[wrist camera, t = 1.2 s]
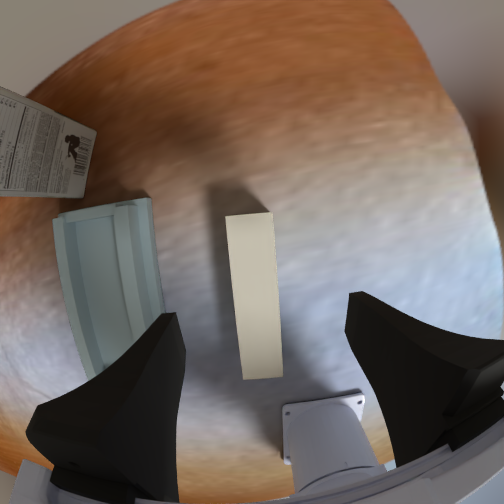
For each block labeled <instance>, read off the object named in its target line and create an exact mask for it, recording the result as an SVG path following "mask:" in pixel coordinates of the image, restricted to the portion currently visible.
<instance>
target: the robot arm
mask: <svg viewBox="0 0 504 504" xmlns="http://www.w3.org/2000/svg"><path fill="white" fill-rule="evenodd" d="M345 334H346V337H347V339H348V342H349V345H350V347H351V350H352V352H353V354H354V355H355V357H356V359H357V361H358V363H359V365H360V366H361V368H362V370H363V372H364V374H365V375H366V377H367V379H368V381H369V383H370V384H371V386H372V388H373V390H374V392H375V395H376V397H377V400H378V402H379V405H380V408H381V410H382V413H383V416H384V419H385V423H386V426H387V429H388V432H389V436H390V440H391V444H392V448H393V453H394V457H395V463H396V468H395V469H393V470H390V471H388V472H387V470H386V468H385V466H384V464H381V465H380V464H379V462H378V460H377V458H376V456H375V453H374V451H373V449H372V447H371V445H370V443H369V440H368V438H367V436H366V434H365V432H364V430H363V428H362V425H361V419H362V413H363V408H364V402H365V395H364V394H363V393H357V394H352V395H346V396H341V397H335V398H329V399H323V400H316V401H309V402H301V403H293V404H286V405H284V406H283V407H282V419H283V450H284V464H287V465H290V464H291V465H292V473H293V480H294V488H295V494H292V495H290V496H289V497H290V498H287V499H280V500H272V501H264V502H253V503H239V504H458V503H460V502H461V501H463V500H464V499H466V498H467V497H469V496H470V495H471V494H473V493H474V492H476V491H477V490H478V489H480V488H481V487H482V486H484V485H485V484H486V483H487V482H488V481H490V480H491V479H492V478H494V476H496V475H497V474H498V473H499V472H501V471H502V470H503V469H504V400H503V398H502V397H501V396H502V395H503V394H504V391H503V390H502V388H501V387H500V386H501V385H502V383H503V382H504V340H495V339H482V338H476V337H470V336H465V335H460V334H457V333H453V332H449V331H446V330H443V329H440V328H437V327H434V326H432V325H429V324H426V323H424V322H422V321H419V320H417V319H415V318H413V317H411V316H409V315H407V314H405V313H403V312H401V311H399V310H397V309H395V308H393V307H391V306H390V305H388V304H386V303H384V302H382V301H381V300H379V299H377V298H375V297H373V296H371V295H369V294H367V293H365V292H363V291H360V292H354V293H349V301H348V309H347V317H346V324H345ZM185 358H186V349H185V345H184V342H183V338H182V334H181V331H180V327H179V323H178V319H177V315H176V312H174V313H161V314H160V315H159V317H158V318H157V319H156V320H155V321H154V322H153V323H152V324H151V325H150V327H149V328H148V329H147V330H146V331H145V332H144V333H143V334H142V335H141V337H140V338H139V339H138V340H137V341H136V342H135V343H134V344H133V345H132V346H131V347H130V348H129V349H128V350H127V351H126V352H125V353H124V354H123V355H122V356H121V357H119V358H118V359H117V360H116V361H115V362H114V363H113V364H111V365H110V366H109V367H108V368H106V369H105V370H104V371H102V372H101V373H100V374H98V375H97V376H95V377H94V378H92V379H91V380H89V381H88V382H86V383H85V384H83V385H81V386H80V387H78V388H76V389H74V390H72V391H70V392H68V393H66V394H64V395H62V396H60V397H58V398H55V399H53V400H50V401H48V402H45V403H43V404H40V405H38V406H37V408H36V410H35V412H34V414H33V416H32V418H31V420H30V423H29V425H28V427H27V429H26V431H25V432H26V436H27V438H28V440H29V441H30V443H31V444H32V445H33V446H34V447H35V448H36V449H37V450H38V451H39V452H40V453H41V454H42V455H43V456H44V457H46V458H47V459H48V460H49V461H50V462H51V463H52V464H54V468H53V471H51V470H49V469H47V468H46V467H43V466H41V465H38V464H36V463H34V462H31V461H29V460H27V459H23V461H22V464H21V467H20V470H19V472H18V475H17V478H16V481H15V484H14V488H13V491H12V494H11V498H10V501H9V504H186V503H179V494H178V484H177V468H176V424H177V414H178V408H179V402H180V396H181V390H182V385H183V379H184V373H185ZM360 400H361V401H360ZM358 401H360V402H358ZM286 412H290V413H286Z"/></svg>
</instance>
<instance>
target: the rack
mask: <svg viewBox="0 0 504 504" xmlns="http://www.w3.org/2000/svg"><path fill="white" fill-rule="evenodd" d="M52 220H53V232H54V241H55V249H56V256H57V263H58V269H59V275H60V281H61V286H62V291H63V296H64V300H65V305H66V309H67V313H68V317H69V321H70V325H71V329H72V332H73V336H74V339H75V343H76V346H77V349H78V352H79V355H80V359H81V362H82V364H83V367H84V370H85V373H86V376H87V378H88V381H89V380H91V379H92V378H94V377H95V376H97V375H98V374H100V373H101V372H102V371H104V370H105V369H106V368H108V367H109V366H110V365H111V364H113V363H114V362H115V361H116V360H117V359H118V358H119V357H121V356H122V355H123V354H124V353H125V352H126V351H127V350H128V349H129V348H130V347H131V346H132V345H133V344H134V343H135V342H136V341H137V340H138V339H139V338H140V337H141V335H142V334H143V333H144V332H145V331H146V330H147V329H148V328H149V327H150V325H151V324H152V323H153V322H154V321H155V320H156V319H157V318H158V317H159V315H160V314H161V313H166V312H165V307H164V301H163V295H162V288H161V282H160V275H159V268H158V260H157V252H156V244H155V234H154V225H153V214H152V201H151V198H141V199H135V200H128V201H122V202H116V203H111V204H105V205H100V206H94V207H89V208H84V209H79V210H74V211H69V212H64V213H60V214H58V218H55V219H52Z"/></svg>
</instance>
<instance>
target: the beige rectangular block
mask: <svg viewBox="0 0 504 504" xmlns="http://www.w3.org/2000/svg"><path fill="white" fill-rule="evenodd" d="M225 218H226V229H227V240H228V250H229V260H230V270H231V279H232V289H233V298H234V307H235V316H236V325H237V334H238V342H239V350H240V359H241V367H242V375H243V380H250V379H264V378H276V377H283V363H282V343H281V326H280V309H279V294H278V279H277V265H276V251H275V238H274V226H273V214H272V212H266V213H254V214H243V215H232V216H225Z"/></svg>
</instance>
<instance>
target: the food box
mask: <svg viewBox="0 0 504 504" xmlns="http://www.w3.org/2000/svg"><path fill="white" fill-rule="evenodd" d="M96 134H97V132H96V131H95V130H94V129H92V128H90V127H87V126H85V125H83V124H81V123H79V122H77V121H75V120H73V119H71V118H69V117H67V116H65V115H62V114H60V113H58V112H56V111H54V110H52V109H50V108H48V107H46V106H43V105H41V104H39V103H37V102H35V101H32V100H30V99H28V98H26V97H24V96H21V95H19V94H17V93H15V92H12V91H10V90H8V89H5V88H3V87H0V196H20V197H52V198H83V197H84V191H85V185H86V180H87V174H88V169H89V164H90V160H91V155H92V150H93V146H94V142H95V138H96Z"/></svg>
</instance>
